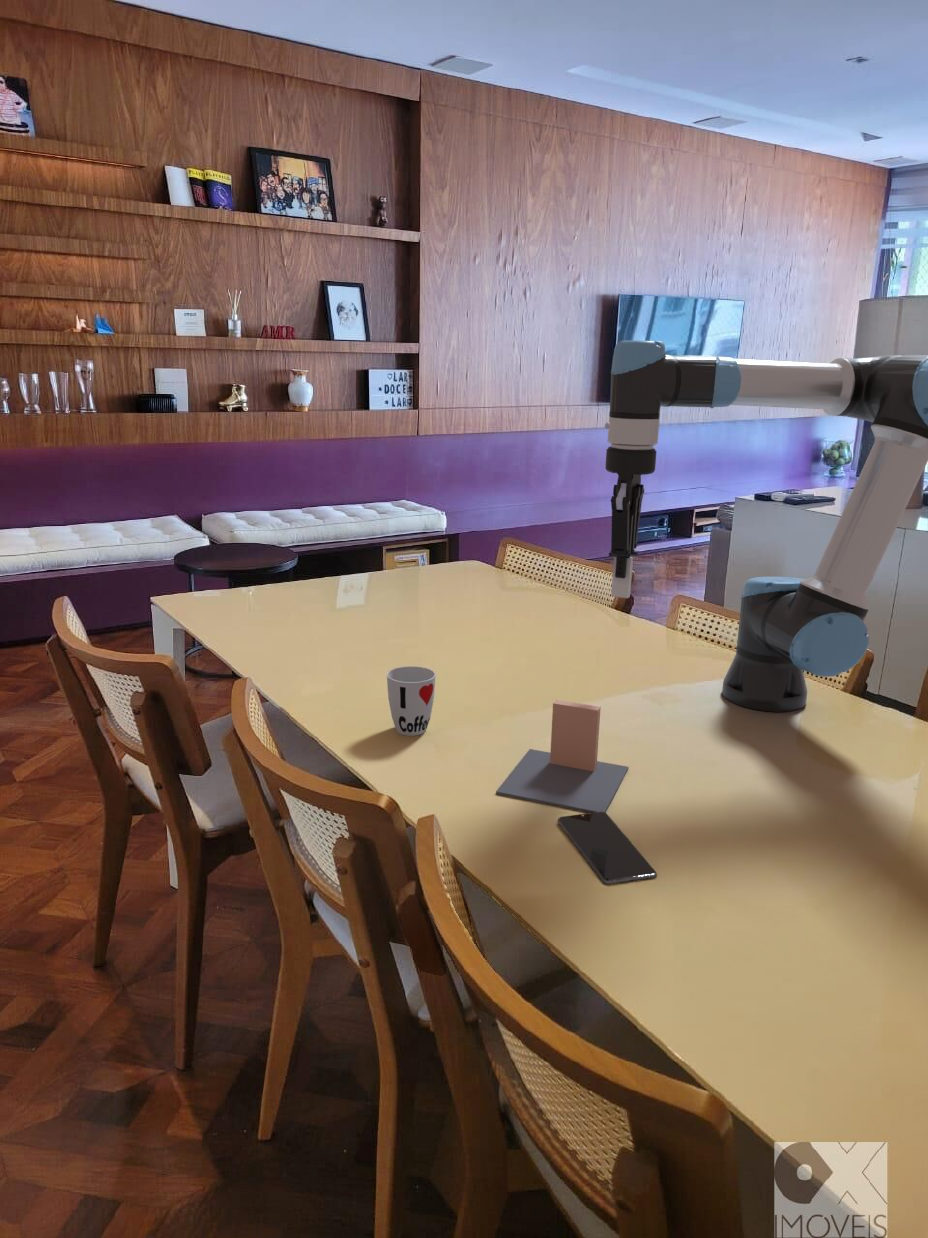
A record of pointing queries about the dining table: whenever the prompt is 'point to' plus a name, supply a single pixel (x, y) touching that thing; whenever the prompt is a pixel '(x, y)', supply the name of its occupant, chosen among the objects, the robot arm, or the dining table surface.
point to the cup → (411, 698)
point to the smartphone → (606, 848)
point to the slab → (575, 735)
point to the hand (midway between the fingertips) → (620, 595)
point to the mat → (563, 783)
